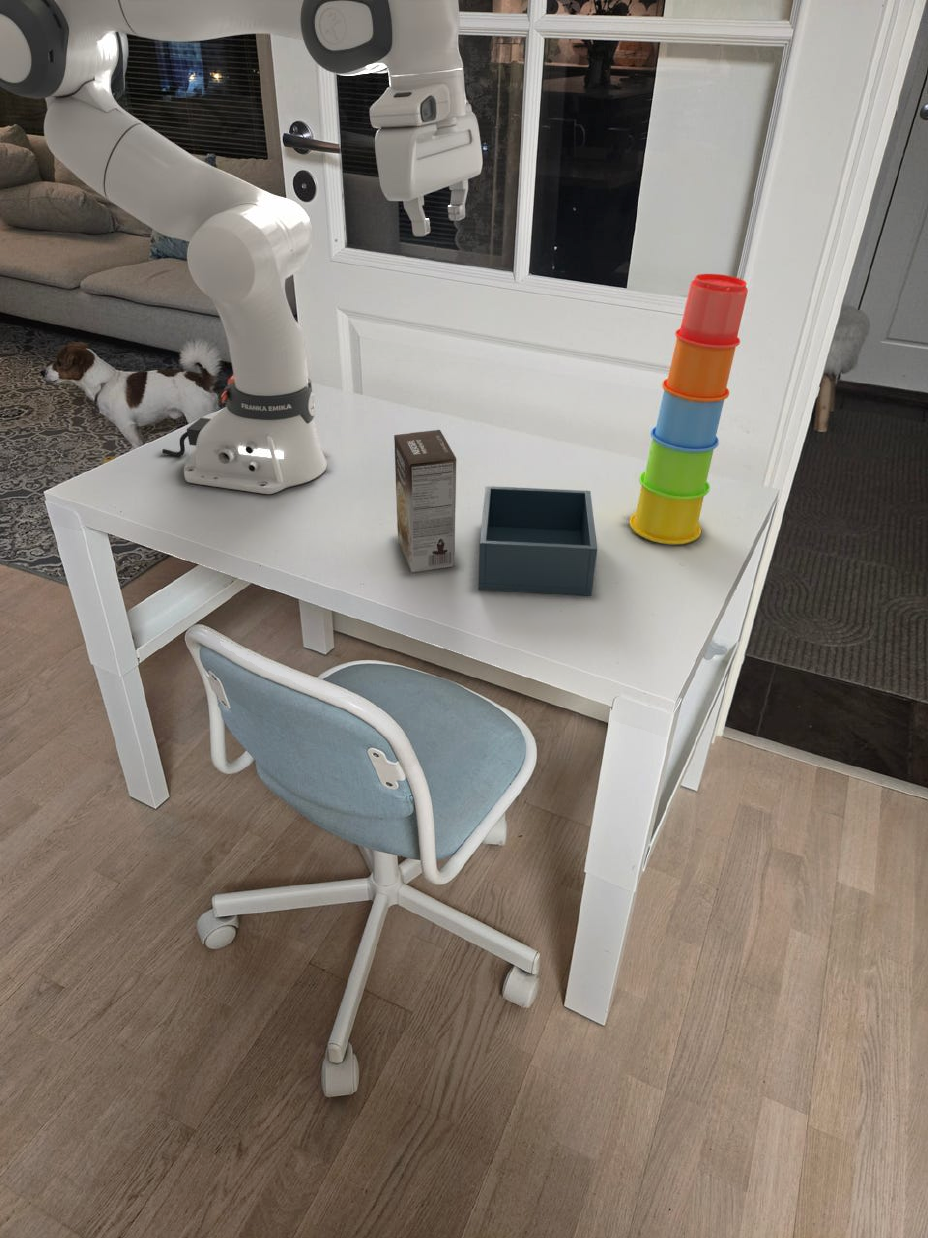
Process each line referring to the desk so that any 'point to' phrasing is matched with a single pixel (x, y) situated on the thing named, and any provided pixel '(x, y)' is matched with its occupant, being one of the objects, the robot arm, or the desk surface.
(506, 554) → the open square box
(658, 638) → the desk surface
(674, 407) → the stacking cups
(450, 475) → the coffee box
